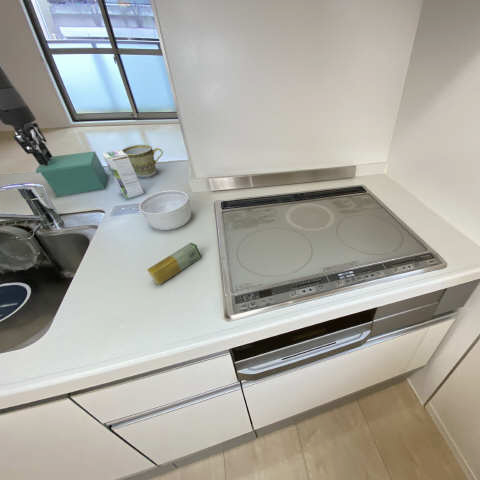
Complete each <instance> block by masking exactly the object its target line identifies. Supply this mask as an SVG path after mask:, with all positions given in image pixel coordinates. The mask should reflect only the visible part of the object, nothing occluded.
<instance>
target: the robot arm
mask: <svg viewBox="0 0 480 480" xmlns="http://www.w3.org/2000/svg"><path fill="white" fill-rule="evenodd" d="M36 120H37V117H36V116H35V114H34V113H33V112H32V110H31V108H30V106H29V105H28V103H27V102H26V101H25V99H24V97H23V95H22V94H21V93H20V92H19V90H18V89H17V88H16V86H15V85H14V84H13V81H11V79H10V77H9V76H8V74H7V73H6V71H5V70H4V68H3V67H2V64H0V122H1V123H2V124H3V125H6V126H12V127H13V129H14V132H15V134H14V135H12V137H13V139H14V140H15V141H16V143H17V144H18V145H19V146H20V147H21V148H22V150H23V151H24V152H25V153H26V154H27V155H32V156H33V157H34V159H35V161H37V163H38V164H39V165H44V164H48V161H47V159H46V157H45V156H44V155H43V153H42V152H41V150H40V147H43V148H46V149H47V155H48V156H49V158H51V157H52V156H53V154H52V153H51V151H50V150H49V148H48V146H47V138H46V137H45V136H44V133H43V132H42V130H41V128H40V126H39V124H38V123H37V122H35V121H36Z"/></svg>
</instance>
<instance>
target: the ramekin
mask: <svg viewBox="0 0 480 480" xmlns="http://www.w3.org/2000/svg"><path fill="white" fill-rule="evenodd" d="M138 209H139V211H140V213H141V214H142V216H143V217H144V218H145V219H146V221H147V222H148V224H149V225H151V227H152V228H154V229H156V230H160V231H171V230H175V229H178V228H181V227H183V226H184V225H186V224H187V223H188V222H189V221H190V219H191V217H192V209H191V204H190V198H189V196H188V194H187V193H186V192H184V191H181V190H175V189H172V190H171V189H168V190H163V191H157V192H155V193H153V194H150V195H148V196H146V197H145V198H143V199H142V200H141V201H140V202H139V204H138Z"/></svg>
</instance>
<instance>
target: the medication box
mask: <svg viewBox="0 0 480 480" xmlns="http://www.w3.org/2000/svg"><path fill="white" fill-rule="evenodd" d="M200 258H202V254H201V252H200V250H199V248H198V245H197V244H195V243H194V242H189V243H188V244H186V245H184V246H182V247H181V248H179V249H178V250H175V252H173V253H172V254H170V255H168V256H166V257H165V258H163V259H162V260H160V261H158V262H157V263H155V264H153V265H152V266H151V267H149V268H147V269H146V271H147V272H148V274H149V277H150V278H151V279H152V282H153V283H155V284H157V285H159V286H160V285H162V284H164V283H165V282H167V281H168V280H169V279H171V278H172V277H174V276H176V275H177V274H178V273H180V272H181V271H182V270H184V269H186V268H187V267H189V266H190V265H192V264H193V263H195V262H196V261H198V260H199V259H200Z"/></svg>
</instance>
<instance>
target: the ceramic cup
mask: <svg viewBox="0 0 480 480" xmlns="http://www.w3.org/2000/svg"><path fill="white" fill-rule="evenodd" d="M121 150H122V151H123V152H125V153H126V154H127V155H128V158H129V160H130V162H131V164H132V167H133V169H134V171H135V173H136V176H137V177H140V178H151V177H152V176H155V175H156V174H157V167H156V164H157V162H158V161H159V159H160V158H161V157H162V156H163V153H164V151H163V150H162V149H161V148H158V147H157V148H154V149H153V146H152V145H149V144H134V145H133V144H132V145H128V146H126V147H124V148H122V149H121ZM158 151H159V152H161V154H160V155H159V156H158V157H157V159H155V157H154V156H155V153H156V152H158Z"/></svg>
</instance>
